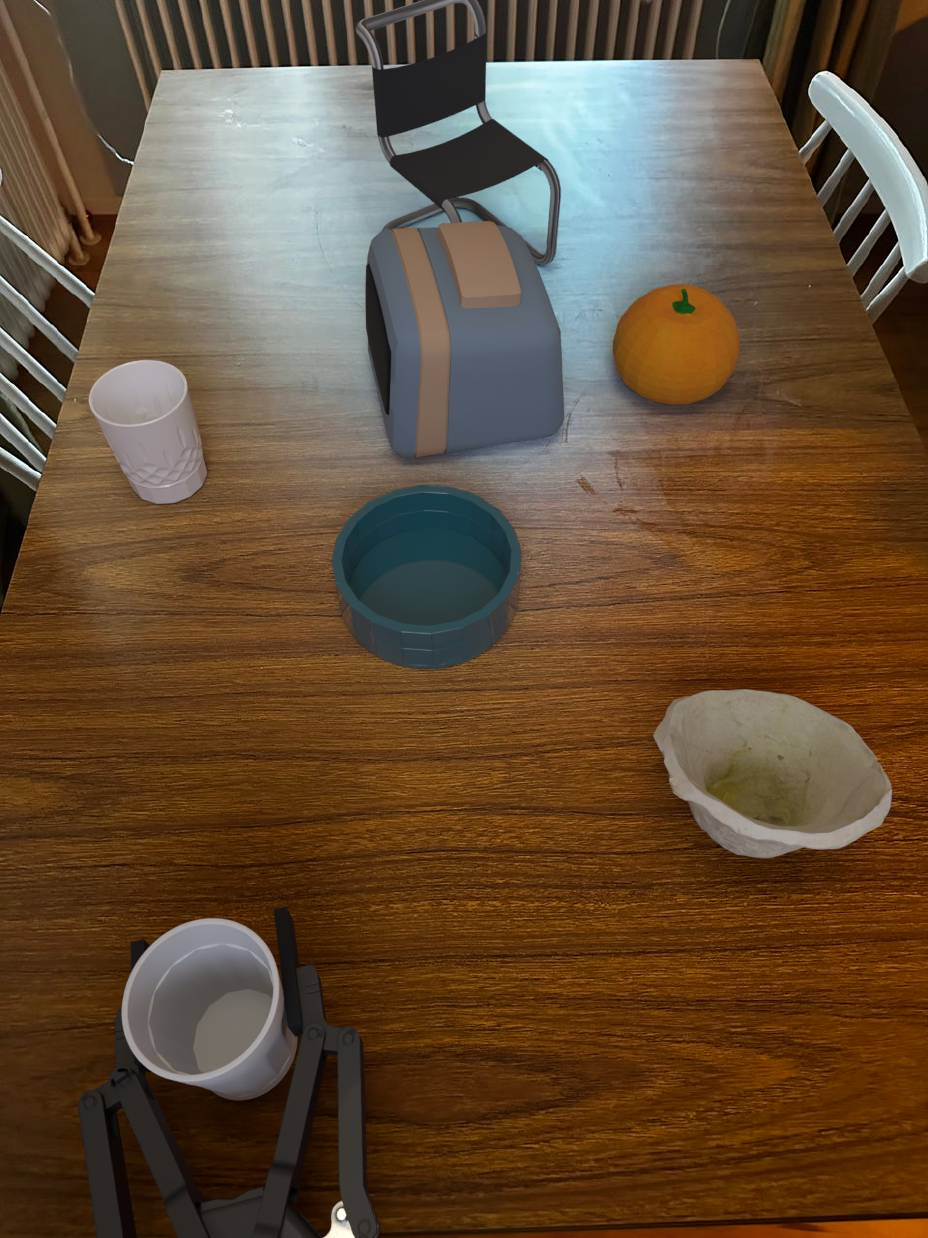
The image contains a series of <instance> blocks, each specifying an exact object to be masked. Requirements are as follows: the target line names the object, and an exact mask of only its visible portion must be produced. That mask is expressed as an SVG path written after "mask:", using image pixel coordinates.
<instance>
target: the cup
mask: <svg viewBox="0 0 928 1238" xmlns="http://www.w3.org/2000/svg"><path fill="white" fill-rule="evenodd" d="M121 1009H122V1024H123V1030H124V1034H125V1037H126V1040H127V1042H128V1045H129V1047H130V1048H131V1050H132V1052H133V1053H134V1055H135V1056H136V1057H137V1059H138V1060H139V1061H140V1062H141V1063H142V1064H143V1065H144V1066H145V1067H146V1068H148V1069H149V1070H151V1071H152V1072H151V1073H154V1074H155V1075H157V1076H159V1077H162V1078H165V1079H167V1080H171V1081H174V1082H178V1083H181V1084H182V1083H183V1084H185V1085H190V1086H195V1087H199V1088H202V1089H205V1090H208V1091H211V1092H212V1093H213V1094H215V1095H217V1096H218V1097H221V1098H223V1099H227V1100H230V1101H247V1100H252V1099H255V1098H258V1097H260V1096H262V1095H264V1094H266V1093H268V1092H269V1091H271V1090H273V1089H274V1088H275V1087H276V1086H277V1085H278V1084H279V1083H280V1082H281V1081H283V1078H284V1077H285V1076H286V1075H287V1073H288V1072H289V1070H290V1068H291V1066H292V1065H293V1062H294V1059H295V1057H296V1053H297V1047H298V1040H299V1039H298V1038H299V1036H297V1037H295V1036H294V1035H293V1033H292V1032H291V1031H290V1029H289V1028H288V1026H287V1018H286V1010H285V1001H284V993H283V984H282V980H281V977H280V974H279V969H278V966H277V963H276V960H275V958H274V956H273V953H272V951H271V949H270V947H269V946H268V945H267V943H266V942H265V941H264V939H262V937H260V936H259V934H258V933H256V932H255V931H254V930H252V929H251V928H249V927H248V926H246V925H244V924H242V923H240V922H237V921H234V920H231V919H226V918H219V917H207V918H198V919H194V920H191V921H187V922H185V923H181V924H179V925H177V926H175V927H174V928H171V929H170V930H168V931H166V932H165V933H164V934H162V935H161V936H159V937H158V938H157V939H156V940H155V941H154V942H153V943H151V944H150V947H149V948H148V949H147V950H146V951H145V952H144V953H143V955H142V956H141V957H140V959H139V960H138V962H137V963H136V965H135V966H134V968H133V970H132V972H130V974H129V977H128V978H127V981H126V984H125V987H124V990H123V996H122V1003H121Z"/></svg>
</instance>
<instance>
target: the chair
mask: <svg viewBox="0 0 928 1238" xmlns="http://www.w3.org/2000/svg"><path fill="white" fill-rule="evenodd" d="M479 2H480V1H478V0H419V1H417V2H412V3H410V4H409V3H408V4H406V5H403V6H400V7H397V8H394V9H392V10H387V11H384V12H381V13H379V14H375V15H371V16H368V17H365V18H362V19H360V20H359V21H358V22H357V24H356V25H355V32H356V35H357V36H358V37H359V39H361V40H362V42H363V43H364V46H365V47H366V50H367V51H368V54H369V58H370V62H371V73H372V85H373V98H374V99H373V100H374V111H375V123H376V132H377V133H376V135H377V139H378V143H379V146H380V148H381V149H380V150H381V152H382V153H383V156H384V158H385V159H386V161H387V163H388V164H389V166H390V167H391V169H393V170H394V171H395V172H397V173H398V175H400V176H401V177H402V178H404V179H405V180H406V181H408V183H409V184H411V185H412V186H413V187H414V188H416V190H418V191H419V192H420V193H422V194H423V195H424V196H425V197H426V198H427V199H429V201H431V202H432V204H430V205H427V206H425V207H423V208H422V207H421V208H419V209H417V210H415V211H412V212H410V213H408V214H405V215H403V216H400V217H397V218H395V219H392V220H391V221H389V222H388V223H387V224H386V225H384V227H383V228H382V230H381V231H385V230H388V229H390V230H391V229H398V228H405V227H407V226H409V225H412V224H414V223H418V222H419V221H422V220H424V219H427V218H429V217H432V216H434V215H437V214H438V213H441V212H445V214H446V216H447V218H448V220H449V223H462V222H463V220H462V218H461V214H460V212H459V211H458V208H460V209H466V210H469V211H472V212H473V213H474V214H475V215H477V216H478V218H480V219H482V220H483V221H491V222H494V223H495V224H496V226H499V225H500V226H505V227H508V225H506V224H505V223H504V222H503V221H502V220H500V218H498V217H496V216H495V215H494V214H493V213H492V212H491V211H489V210H488V209H486V207H484V206H483V205H482V204H480V203H479V202H478V201H476V200H473V199H471V198H467V197H465V196H468V195H471V194H475V193H477V192H481V191H484V190H487V189H489V188H491V187H495V186H497V185H499V184H502V183H504V182H506V181H508V180H511V179H513V178H515V177H517V176H519V175H521V174H523V173H525V172H526V171H529V170H531V169H532V168H534V167H535V168H537V169H538V170H539V171H540V172H543V174H544V176H545V177H546V179H547V182H548V185H549V193H550V194H549V195H550V196H549V206H548V207H549V209H548V219H547V220H548V221H547V235H546V247H545V252H544V254H543V253H541V252H540V251H539V250H537V248H534V246H532V245H531V244H530V243H529V242H527V240H525V239H524V241H525V243H526V245H527V247H528V249H529V251H530V253H531V255H532V257H533V259H534V262H535V264H536V265H541V266H546V265H549V264H551V263H552V261H554V259H555V257H556V253H557V246H558V236H559V235H558V234H559V233H558V232H559V223H560V212H561V202H562V201H561V199H562V187H561V186H562V185H561V182H560V178H559V175H558V172H557V171H556V168H555V167H554V166H553V164H552V163H551V162H550V160H549V159H548V158H547V157H545V156H544V155H543V154H541V153H540V152H539V151H538V150H536V149H534V148H533V147H532V146H531V145H530V144H528V143H526V142H525V141H524V140H522V139H521V138H520V137H519V136H517V135H516V134H515V133H513V132H511V130H509V129H508V128H507V127H505V126H504V125H502V124H501V123H500V122H499V121H497V120H496V119H495V118H493V117H492V116H491V114H490V112H489V109H488V105H487V102H486V97H487V96H486V95H487V94H486V91H487V89H486V87H487V44H488V43H487V41H488V40H487V39H488V31H487V26H486V25H487V24H486V19H485V15H484V11H483V9H482V6H481V5H480V3H479ZM455 4H463V5H465V6H466V7H467V9H468V10H469V12H470V14H471V18H472V20H473V24H474V39H472V40H470V41H469V42H468V41H467V42H466V43H464V44H462V45H460V46H457V47H455V48H453V49H450V50H448V51H446V52H444V53H441V54H438V55H435V56H432V57H430V58H427V59H424V60H420V61H417V62H414V63H410V64H405V65H401V66H397V67H389V68H384V59H383V56H382V51H381V48H380V45H379V43H378V41H377V38H376V37H375V35H374V34H373V31H374V30H378V29H381V28H384V27H386V26H389V25H390V26H391V25H393V24H396V23H399V22H402V21H406V20H408V19H411V18H414V17H418V16H421V15H424V14H427V13H430V12H433V11H437V10H439V9H443V8H446V7H449V6H452V5H455ZM473 107H475V108H476V109H475V110H476V112H477V115H478V117H479V119H480V122H481V123H482V124H480V125H478V126H476V128H473V129H471V130H469V131H467V132H465V133H463V134H461V135H459V136H457V137H454V138H452V139H450V140H447V141H444V142H442V143H439V144H436V145H433V146H430V147H427V148H423V149H419V150H415V151H411V152H405V153H400V154H397V153H396V151H395V150H394V148H393V146H392V143H391V140H390V137H392V136H396V135H400V134H404V133H407V132H410V131H414V130H416V129H420V128H423V127H425V126H429V125H431V124H434V123H436V122H439V121H442V120H445V119H447V118H450V117H452V116H455V115H457V114H459V113H461V112H464V111H466V110H468V109H471V108H473Z"/></svg>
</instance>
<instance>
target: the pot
mask: <svg viewBox="0 0 928 1238" xmlns="http://www.w3.org/2000/svg"><path fill="white" fill-rule="evenodd" d="M521 564H522V547H521V545H520V542H519V538H518V536H517V532H516V530H515V527H514V526H513V525H512V523H511V522H510V521H509V519H507V517H506V516H505V515H504V514H503V513H502V511H501V510H500V509H499V508H497V507H496V506H494V505H493V504H492V503H490V502H488V501H486V500H485V499H483V498H482V497H480V496H479V495H477V494H475V493H471V492H469V491H465V490H462V489H459V488H456V487H453V486H443V485H442V486H441V485H425V484H423V485H422V484H421V485H415V486H408V487H403V488H397V489H394V490H391V491H389V492H387V493H385V494H382V495H381V496H380V495H379V496H378V497H376V498H373V499H371V500H368V502H366V503H365V504H364V505H363V506H362V507H360V508H359V509H358V510H357V511H355V512H354V513H353V514H351V515H350V516H349V518H348V519H347V520H346V522H345V524H344V525H343V527H342V528H341V529H340V532H339V533H338V534H337V536H336V538H335V542H334V547H333V552H332V557H331V566H332V572H333V577H334V581H335V587H336V592H337V597H338V603H339V608H340V613H341V618H342V619H343V622H344V624H345V626H346V629H348V631H349V633H350V634H351V635H352V637H353V638H354V639H355V640H356V641H357V642H358V643H359V644H360V646H362V647H363V648H364V649H365V650H366V651H368V652H369V653H371V654H373V655H374V656H376V657H378V658H380V659H382V660H384V661H386V662H388V663H391V664H393V665H394V664H395V665H398V666H400V667H406V668H410V669H420V670H421V669H422V670H431V669H441V668H449V667H452V666H457V665H460V664H463V663H466V662H468V661H471V660H473V659H475V658H476V657H479V656H480V655H482V654H483V653H486V651H488V650H490V649H491V648H493V646H494V645H496V643H497V642H499V641H500V639H501V638H502V637H503V636H504V635H505V634H506V632H507V631H508V630H509V628H510V626H511V624H512V622H513V620H514V618H515V615H516V613H517V612H516V611H517V609H518V605H519V593H520V591H519V590H520V581H521V580H520V578H521Z"/></svg>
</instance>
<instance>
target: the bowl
mask: <svg viewBox="0 0 928 1238" xmlns="http://www.w3.org/2000/svg"><path fill="white" fill-rule="evenodd" d="M653 739H654V741H655V743H656V745H657V746H658V747H657V748H658V749H659V751H660V752H661V754H662V756H663V758H664V760H663V763H664V766H665V768H666V770H667V772H668V781H669V786H670V788H671V790H672V792H673V794H674V795H675V796H677V797H678V798H679V799H682V800H683V801H687V803H688V806H689V809H690V812H691V814H692V816H693V818H694V820H695V822H696V823H697V825H698V826H699V828H700V829H701V831H703V832H705V833H707V835H708V837H710V839H712V840H713V841H714V842H716V843H717V844H719V845H720V846H721V847H722V848H723V849H724V850H727V851H728V852H731V853H733V854H735V855H737V856H746V857H751V858H755V859H756V858H757V859H773V858H775V857H779V856H781V855H784V854H788V853H790V852H794V851H798V850H800V849H803V848H804V849H805V848H806V849H810V850H811V849H812V850H838V849H841V848H845V847H847V846H848V845H849V844H851V843H853V842H855V841H857V840H859V839H860V838H862V837H863V836H864V835H865V834H867V833H869V832H871V831H873V830H875V829H876V828H878V827H880V826H881V825H882V824H883V823H884V821H885V818H886V817H887V816H888V814H889V812H890V810H891V807H892V798H893V786H892V783H891V780H890V778H889V776H888V774H887V773H886V772H885V771H884V769H883V765H882V764H881V763H880V762H878V758H877V756H876V755H875V753H874V752H873V751H872V749H871V748H870V747H869V746H868V744H867V743H866V742H865V741H864V740H863V738H862V737H861V736H860V734H858V733H857V732H856V731H855V729H854V727H853V726H851V725H850V724H849V723H847V722H846V721H844V720H842V719H840V718H839V717H836V716H834V715H833V714H830V713H829V712H827V711H825V710H823V709H821V708H819V707H818V706H815V705H813V704H811V703H809V702H808V701H806V700H804V699H801V698H798V697H796V696H793V695H790V694H786V693H776V692H772V691H764V690H763V691H762V690H753V689H746V688H743V689H729V690H728V689H727V690H724V689H722V690H721V689H720V690H719V689H717V690H716V689H715V690H714V689H713V690H712V689H711V690H705V691H700V692H697V693H694V694H692V695H686V696H683V697H681V698H676V699H673V700H672V701H671V703H670V704H669V705H668V706H667V708H666V711H665V715H664V717H663V719H662V720H661V722H660V723H659V724H658V725H657V727H656V729H655V731H654V732H653Z"/></svg>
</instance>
